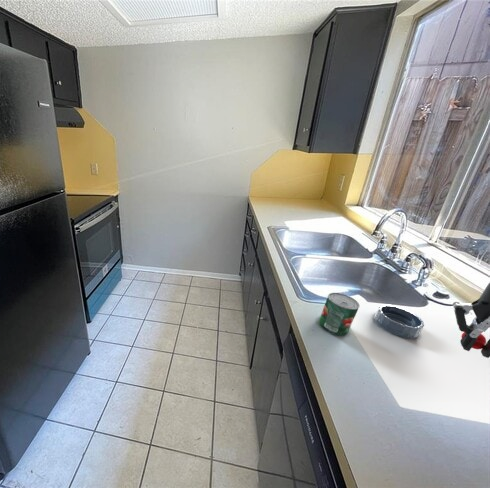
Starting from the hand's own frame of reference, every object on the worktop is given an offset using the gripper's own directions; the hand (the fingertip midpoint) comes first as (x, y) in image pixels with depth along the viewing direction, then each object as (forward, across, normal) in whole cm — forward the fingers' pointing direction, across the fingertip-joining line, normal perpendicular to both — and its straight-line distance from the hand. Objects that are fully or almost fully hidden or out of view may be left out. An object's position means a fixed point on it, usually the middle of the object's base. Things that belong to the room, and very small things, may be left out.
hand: (474, 351), depth 57 cm
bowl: (+13, +10, -19) cm, 25 cm away
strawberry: (-1, 0, 0) cm, 1 cm away
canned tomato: (+13, +25, -5) cm, 29 cm away
